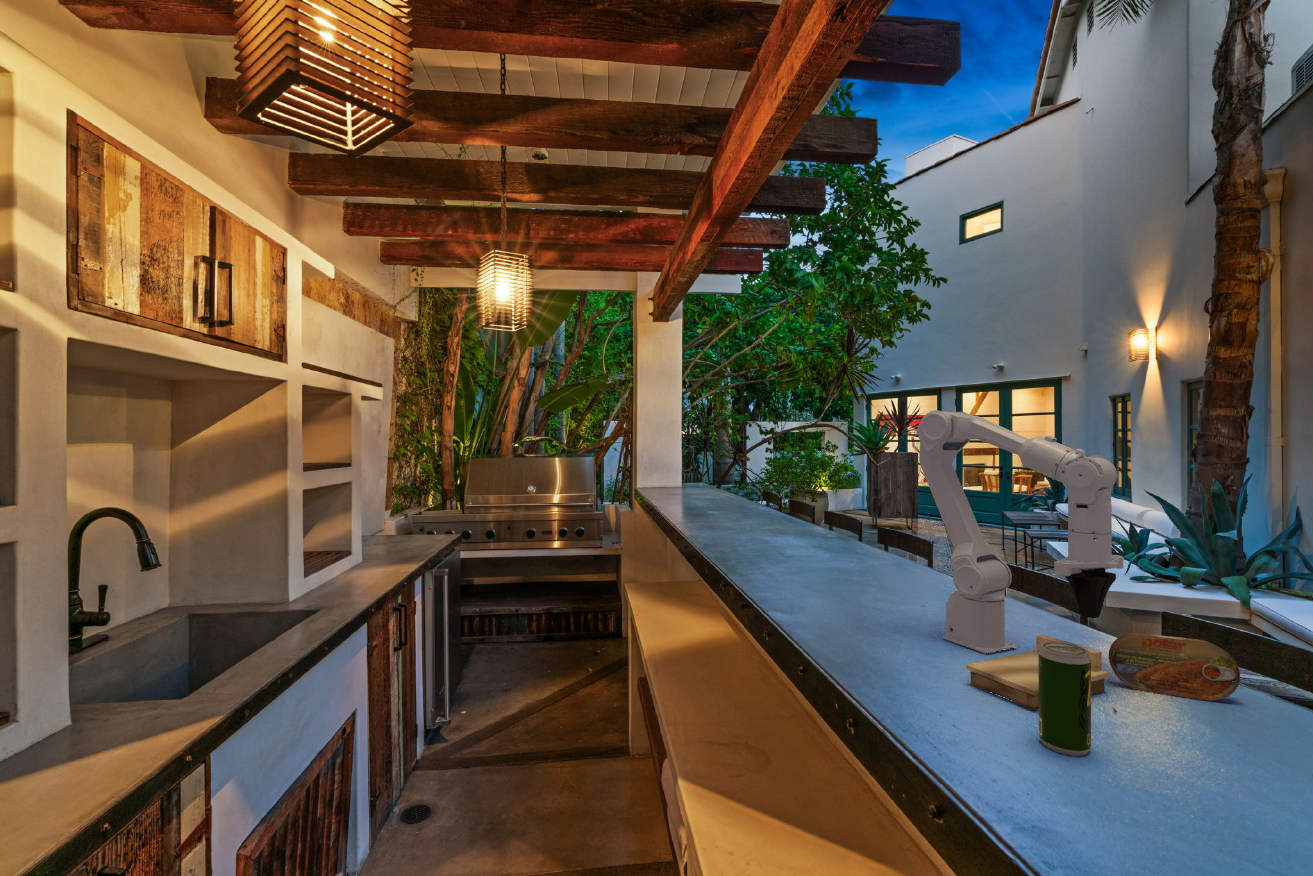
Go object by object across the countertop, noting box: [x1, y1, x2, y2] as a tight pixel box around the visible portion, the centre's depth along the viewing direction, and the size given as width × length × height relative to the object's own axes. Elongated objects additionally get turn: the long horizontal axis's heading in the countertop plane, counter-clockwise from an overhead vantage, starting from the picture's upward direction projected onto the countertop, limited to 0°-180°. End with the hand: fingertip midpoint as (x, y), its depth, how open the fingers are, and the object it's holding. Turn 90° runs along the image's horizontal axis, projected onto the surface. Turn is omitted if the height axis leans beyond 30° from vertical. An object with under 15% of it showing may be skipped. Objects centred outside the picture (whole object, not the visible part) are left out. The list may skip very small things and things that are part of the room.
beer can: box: [1038, 642, 1092, 757], centre depth 75 cm, size 5×5×12 cm
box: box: [969, 671, 1106, 712], centre depth 92 cm, size 10×16×2 cm, turn 114°
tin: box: [1108, 632, 1241, 702], centre depth 91 cm, size 15×3×8 cm, turn 62°
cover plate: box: [965, 634, 1110, 696], centre depth 92 cm, size 11×17×4 cm, turn 114°
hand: (1089, 616), depth 98 cm, fingers closed
